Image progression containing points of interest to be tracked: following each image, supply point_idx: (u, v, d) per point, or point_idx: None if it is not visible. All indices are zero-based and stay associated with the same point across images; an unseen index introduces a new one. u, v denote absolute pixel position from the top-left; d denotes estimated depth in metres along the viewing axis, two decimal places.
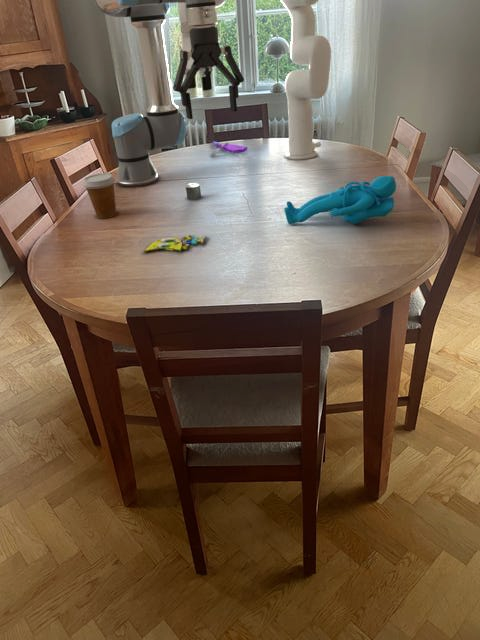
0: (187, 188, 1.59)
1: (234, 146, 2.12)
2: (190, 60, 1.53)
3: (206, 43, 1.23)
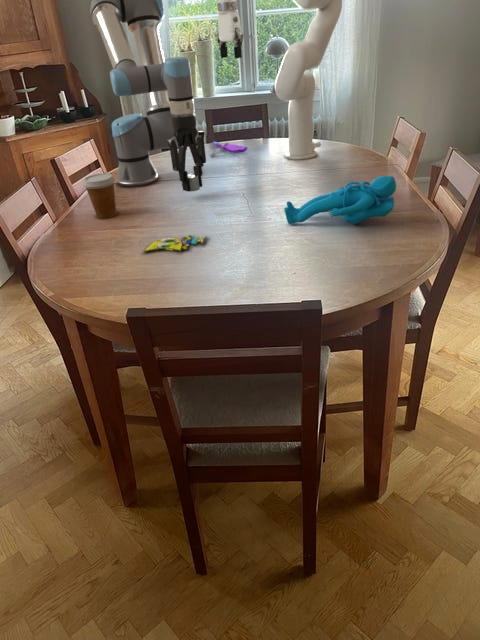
0: None
1: (234, 146, 2.12)
2: (224, 33, 1.90)
3: (189, 128, 1.47)
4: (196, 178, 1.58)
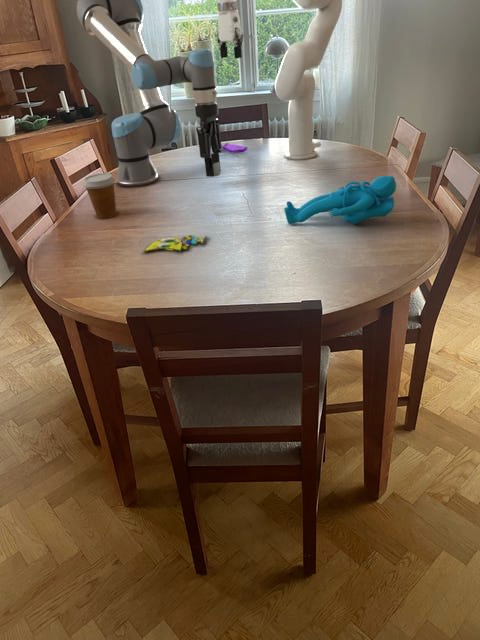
0: None
1: (234, 146, 2.12)
2: (224, 33, 1.90)
3: (215, 115, 1.58)
4: (218, 163, 1.68)
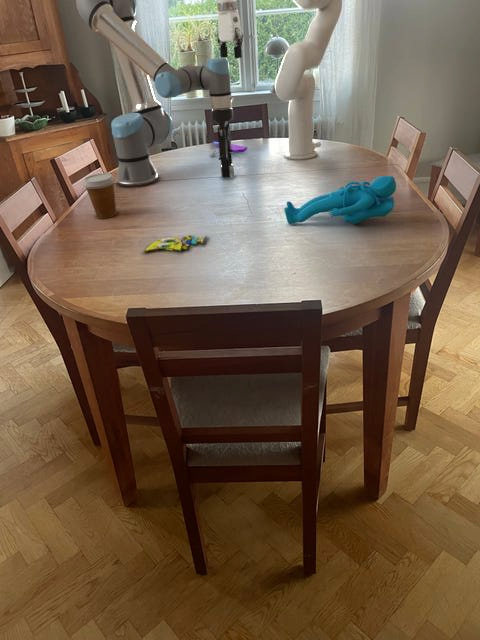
0: None
1: (234, 146, 2.12)
2: (224, 33, 1.90)
3: None
4: None
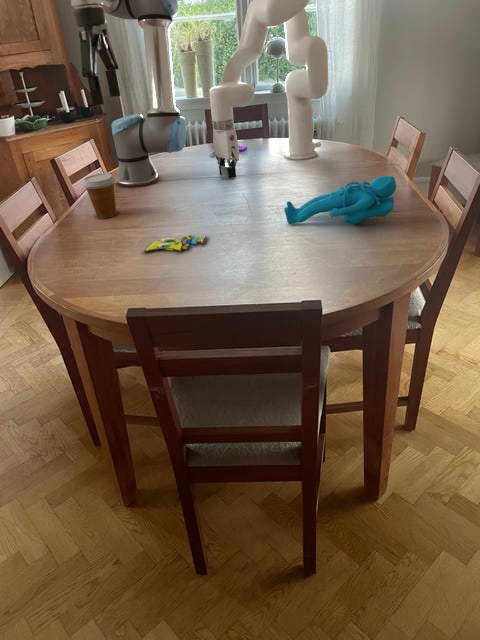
0: (226, 168, 1.76)
1: None
2: (220, 150, 1.73)
3: (103, 23, 1.20)
4: None
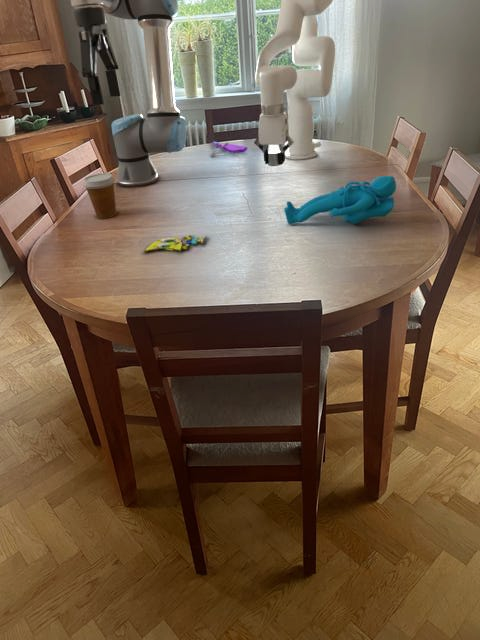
0: (277, 154, 1.70)
1: (234, 146, 2.12)
2: (272, 137, 1.67)
3: (103, 23, 1.20)
4: None
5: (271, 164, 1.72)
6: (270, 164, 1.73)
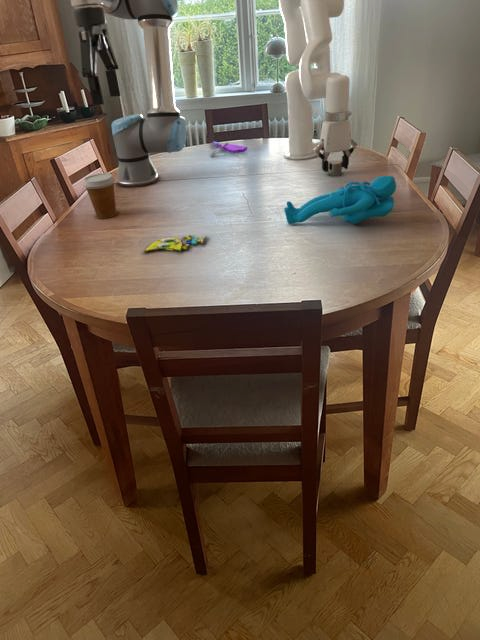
0: (341, 163, 1.69)
1: (234, 146, 2.12)
2: (340, 143, 1.64)
3: (103, 23, 1.20)
4: None
5: (337, 174, 1.70)
6: (335, 174, 1.70)
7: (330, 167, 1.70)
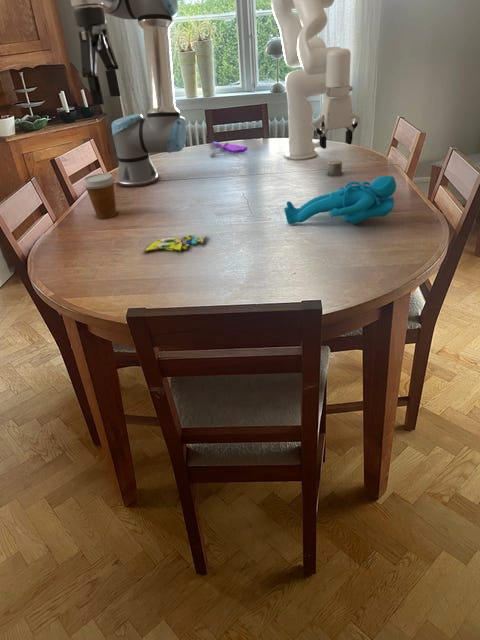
0: (341, 163, 1.69)
1: (234, 146, 2.12)
2: (340, 120, 1.60)
3: (103, 23, 1.20)
4: None
5: (337, 174, 1.70)
6: (335, 174, 1.70)
7: (330, 167, 1.70)
